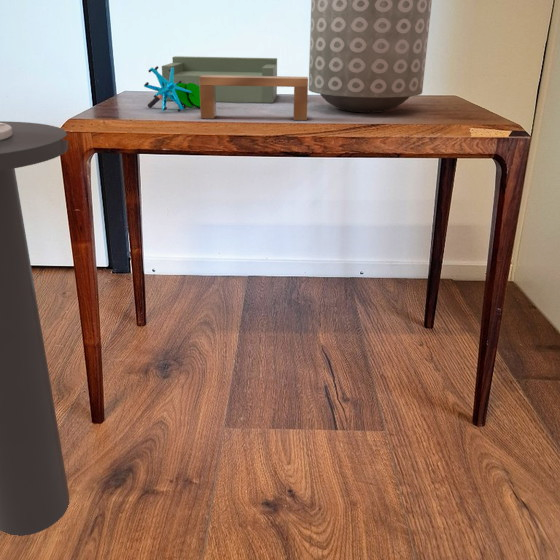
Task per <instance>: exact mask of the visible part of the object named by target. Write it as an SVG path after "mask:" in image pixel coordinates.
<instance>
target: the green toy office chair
mask: <svg viewBox="0 0 560 560" xmlns="http://www.w3.org/2000/svg"><path fill="white" fill-rule="evenodd" d="M158 69H160V68H159V66H158V65H156V66H155V67H151V68H149V69H148V73H151V72H152V73H153V75H155V76H156V79H157V81H158V83H159V86H160V87H159V86H156V85H152V84H150V83H149V82H148V81H147V82H145V83H144V84H143V87H144V88H147V89H148V90H149V89H150V90H153V91H156V93H155V94H154V95H153V99H151V100H150V101H149V102H148V103H147V107H148V108H149V109H152V108H153V107H154V106H155V105H156V104H158V102H160V100H162V102H161V103H162V104H161V105H162V106H161V108H162V109H161V111H162V112H165V111H166V110H167V109H168V107H167V102H168V101H167V96H168V97H169V98H170V99H171V100H173V101H172V102H174V103H175V104H176V105H177V107H178V109H177V112H178V113H180V112H182V111H183V110H185V109H186V108H187V109H193V108H197V109H201V107H200V87H199V86H198V85H196V84H194V83H188V84H185V83H182V81H179V82H178V83H176V84H175V83H174V82H173V81H174V68H173V67H172V68H171V69H170V70H169V72H170V78H169V82H168V81H167V80H166V79H165V78H164V77H163V76H162V74H161V73H160V72H159V70H158ZM164 84H165V85H166V86H165V85H164ZM170 91H171V93H172V94H171V93H170Z"/></svg>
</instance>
